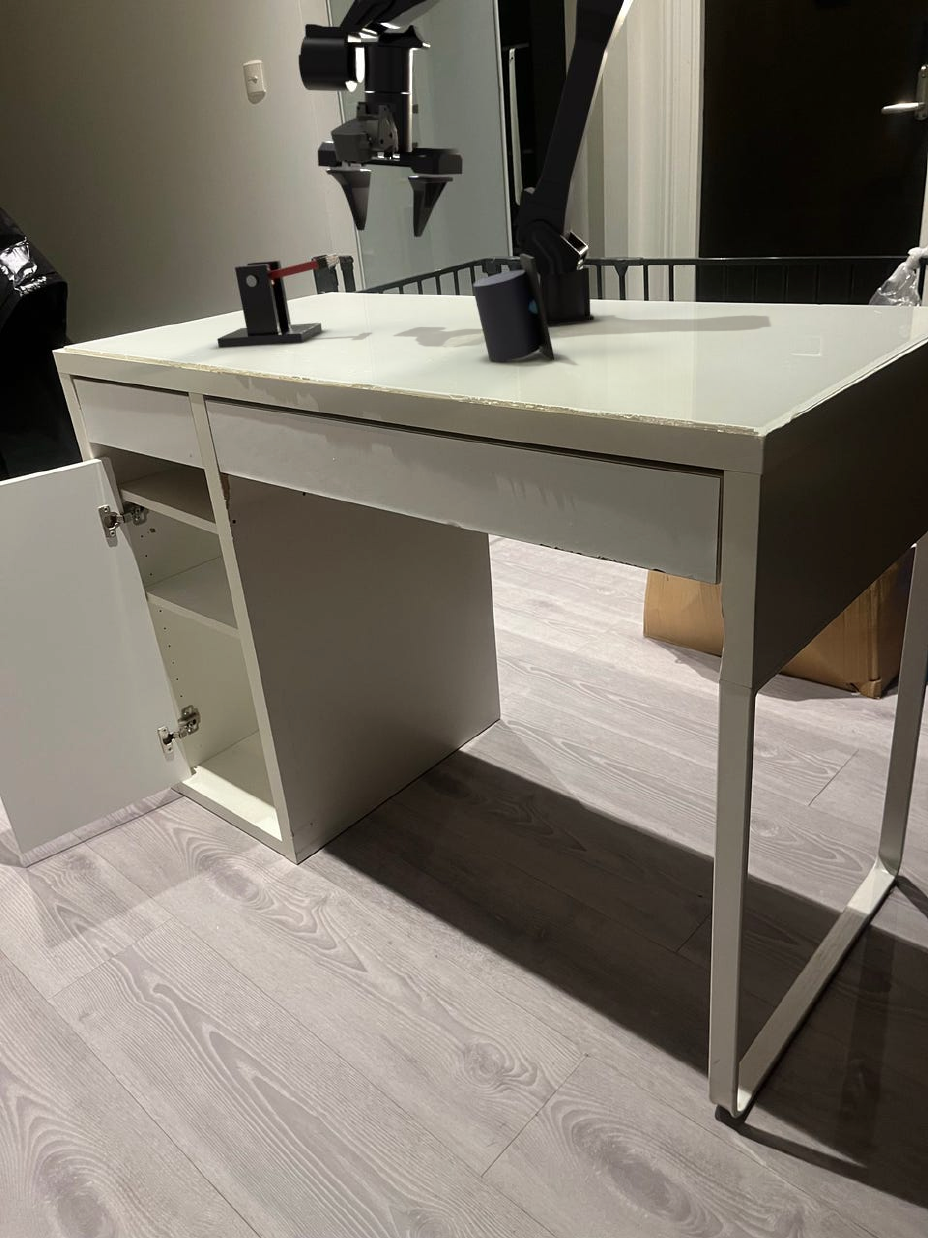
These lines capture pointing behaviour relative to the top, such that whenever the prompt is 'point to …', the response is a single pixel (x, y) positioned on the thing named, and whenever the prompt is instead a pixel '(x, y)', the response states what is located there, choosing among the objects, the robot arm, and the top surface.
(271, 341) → the lever switch
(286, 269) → the paintbrush
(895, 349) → the top surface
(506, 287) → the speaker
